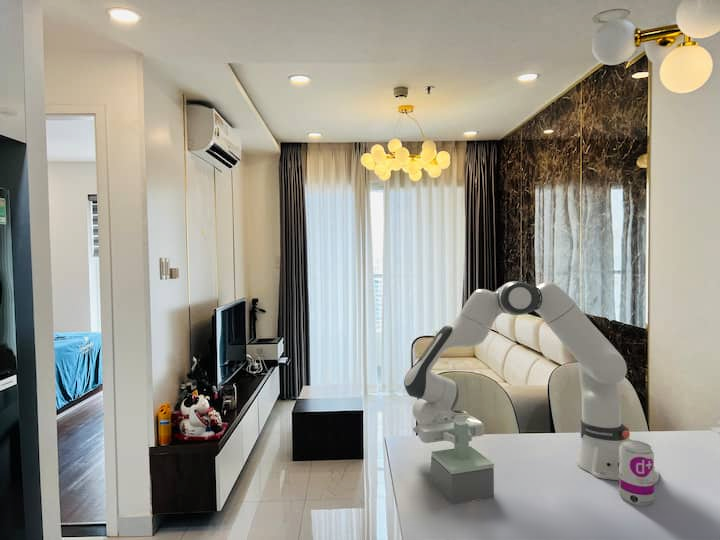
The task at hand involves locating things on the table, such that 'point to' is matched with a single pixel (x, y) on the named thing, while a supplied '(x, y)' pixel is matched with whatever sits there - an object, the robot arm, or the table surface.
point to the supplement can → (636, 472)
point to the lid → (462, 453)
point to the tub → (462, 483)
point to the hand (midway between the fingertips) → (462, 439)
